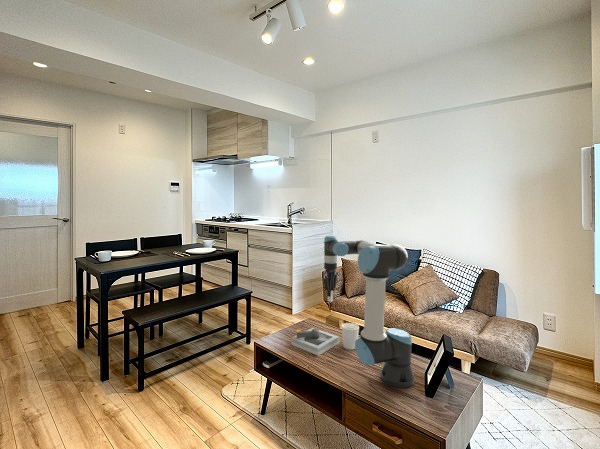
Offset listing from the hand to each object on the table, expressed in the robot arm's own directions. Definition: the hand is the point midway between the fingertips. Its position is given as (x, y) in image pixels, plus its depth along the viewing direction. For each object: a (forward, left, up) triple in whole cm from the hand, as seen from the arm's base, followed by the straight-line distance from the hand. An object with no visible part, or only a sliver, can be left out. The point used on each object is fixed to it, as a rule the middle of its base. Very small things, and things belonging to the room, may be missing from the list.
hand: (330, 301), depth 189 cm
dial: (+6, +11, -22) cm, 25 cm away
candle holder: (-13, -2, -25) cm, 28 cm away
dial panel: (+4, +9, -24) cm, 26 cm away
